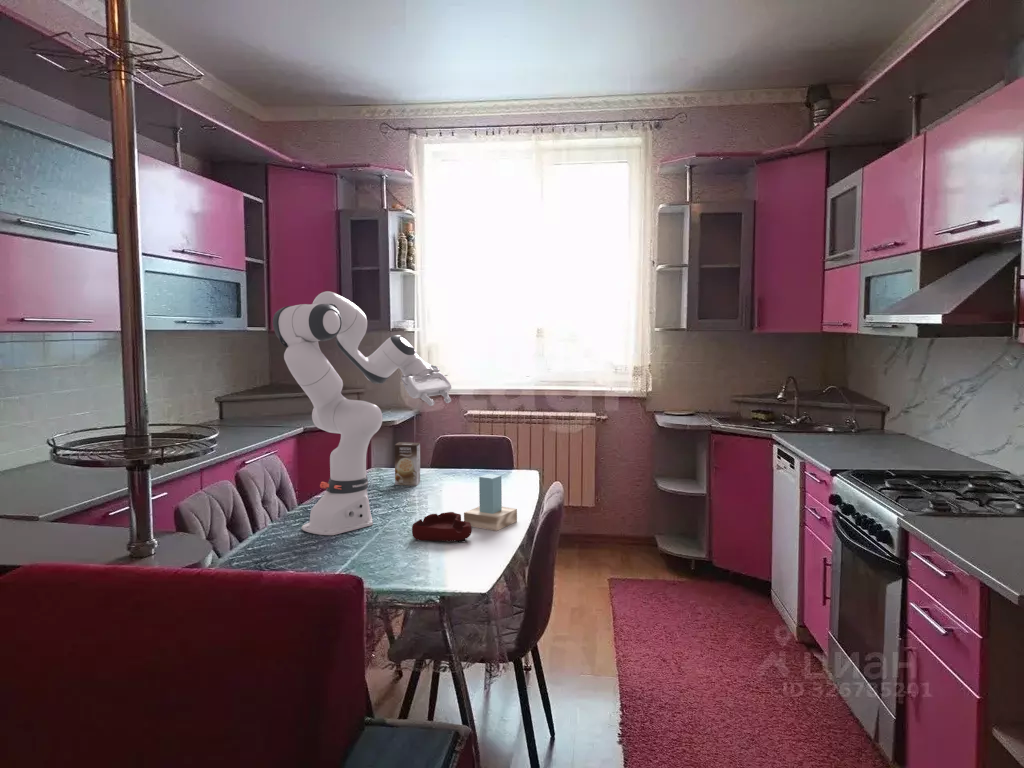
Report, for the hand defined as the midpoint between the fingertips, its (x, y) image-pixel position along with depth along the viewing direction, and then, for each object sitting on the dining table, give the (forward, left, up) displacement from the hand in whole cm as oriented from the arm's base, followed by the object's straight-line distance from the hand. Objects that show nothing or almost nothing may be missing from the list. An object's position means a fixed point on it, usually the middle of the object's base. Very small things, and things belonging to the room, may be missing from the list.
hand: (441, 403), depth 237 cm
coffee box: (+18, +31, -36) cm, 50 cm away
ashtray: (-30, -22, -36) cm, 52 cm away
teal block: (-11, -27, -31) cm, 43 cm away
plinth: (-11, -27, -35) cm, 46 cm away
